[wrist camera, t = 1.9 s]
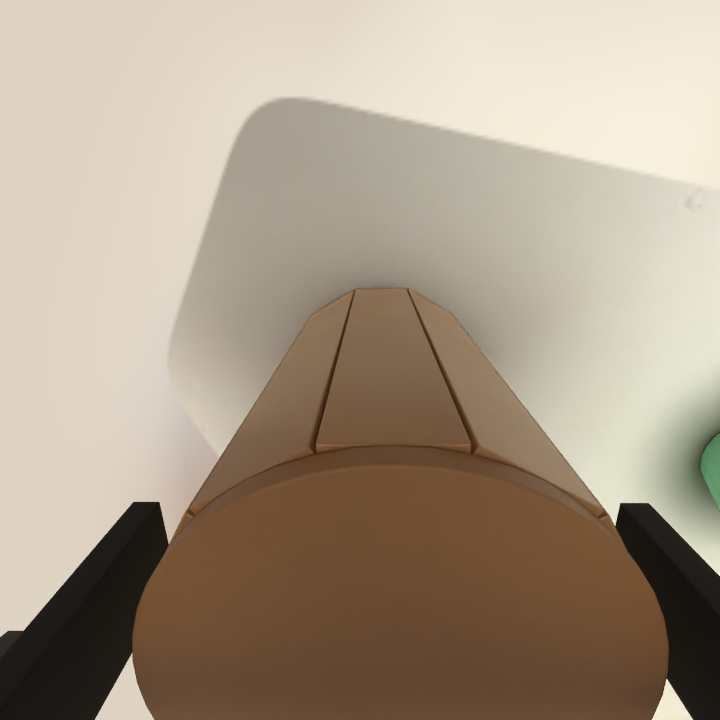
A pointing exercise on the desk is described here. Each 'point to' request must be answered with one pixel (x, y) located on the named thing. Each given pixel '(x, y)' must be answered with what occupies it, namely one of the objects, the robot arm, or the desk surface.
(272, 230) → the desk surface
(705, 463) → the mug
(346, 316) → the round wooden block
